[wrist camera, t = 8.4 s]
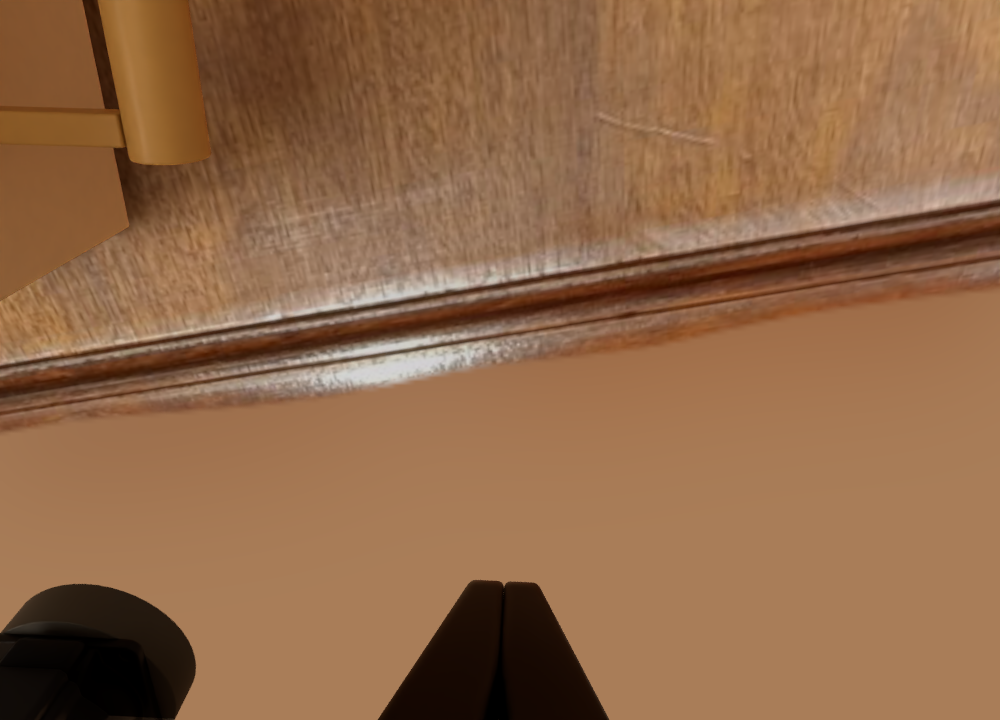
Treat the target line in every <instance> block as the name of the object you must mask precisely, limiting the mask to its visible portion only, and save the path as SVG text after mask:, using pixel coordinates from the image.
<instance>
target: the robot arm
mask: <svg viewBox="0 0 1000 720" xmlns="http://www.w3.org/2000/svg"><path fill="white" fill-rule="evenodd" d="M503 598H504V599H503ZM0 720H162V716H161V713H160V709H159V705H158V701H157V698H156V694H155V690H154V687H153V683H152V679H151V676H150V672H149V668H148V665H147V661H146V657H145V654H144V650H143V648H142V646H141V645H140V644H139V643H138V642H136V641H134V640H129V639H110V638H90V637H69V636H49V635H28V634H8V633H0ZM378 720H609V718H608V716H607V715H606V713H605V711H604V709H603V707H602V705H601V703H600V701H599V699H598V697H597V696H596V694H595V692H594V690H593V688H592V686H591V684H590V682H589V680H588V679H587V676H586V675H585V673H584V671H583V669H582V667H581V665H580V663H579V661H578V659H577V657H576V655H575V654H574V652H573V650H572V648H571V646H570V644H569V642H568V640H567V638H566V636H565V634H564V633H563V631H562V629H561V627H560V625H559V623H558V621H557V619H556V617H555V615H554V614H553V612H552V610H551V608H550V606H549V604H548V602H547V600H546V598H545V596H544V594H543V592H542V591H541V589H540V587H539V586H538V585H537V584H535V583H529V582H528V583H527V582H508V583H506V585H505V586H503V584H502V583H501V582H499V581H486V580H485V581H484V580H473V581H471V582H470V583H469V584H468V585H467V587H466V588H465V590H464V591H463V593H462V594H461V596H460V597H459V599H458V600H457V602H456V603H455V605H454V606H453V608H452V609H451V611H450V612H449V614H448V615H447V617H446V618H445V620H444V621H443V623H442V624H441V626H440V627H439V629H438V630H437V632H436V633H435V635H434V636H433V638H432V639H431V641H430V642H429V644H428V645H427V647H426V648H425V650H424V651H423V653H422V654H421V656H420V657H419V659H418V660H417V662H416V663H415V665H414V666H413V668H412V669H411V671H410V672H409V674H408V675H407V677H406V678H405V680H404V681H403V683H402V684H401V686H400V687H399V689H398V690H397V692H396V693H395V695H394V696H393V698H392V699H391V701H390V702H389V704H388V705H387V707H386V708H385V710H384V711H383V713H382V714H381V716H380V717H379V719H378Z"/></svg>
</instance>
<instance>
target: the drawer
mask: <svg viewBox="0 0 1000 720" xmlns="http://www.w3.org/2000/svg"><path fill="white" fill-rule="evenodd" d="M98 5H99V10H100V15H101V20H102V25H103V30H104V35H105V40H106V45H107V50H108V55H109V60H110V65H111V70H112V75H113V80H114V85H115V90H116V95H117V100H118V105H119V109H105V106H104V102H103V97H102V92H101V87H100V82H99V78H98V73H97V68H96V63H95V58H94V54H93V49H92V44H91V39H90V35H89V30H88V25H87V20H86V15H85V11H84V6H83V1H82V0H0V301H1V300H3V299H5V298H6V297H8V296H10V295H11V294H13V293H15V292H17V291H18V290H20V289H22V288H24V287H25V286H27V285H29V284H31V283H32V282H34V281H36V280H37V279H39V278H41V277H43V276H44V275H46V274H48V273H50V272H51V271H53V270H55V269H57V268H58V267H60V266H62V265H64V264H65V263H67V262H69V261H70V260H72V259H74V258H76V257H77V256H79V255H81V254H83V253H84V252H86V251H88V250H90V249H91V248H93V247H95V246H96V245H98V244H100V243H102V242H103V241H105V240H107V239H109V238H110V237H112V236H114V235H116V234H117V233H119V232H121V231H122V230H124V229H126V228H128V227H129V221H128V217H127V212H126V207H125V202H124V198H123V193H122V188H121V183H120V178H119V174H118V169H117V164H116V159H115V154H114V150H113V148H124V147H126V146H127V150H128V155H129V158H130V160H131V161H132V162H135V163H139V164H145V165H178V164H187V163H193V162H198V161H202V160H205V159H207V158H209V157H210V155H211V149H210V142H209V136H208V129H207V123H206V116H205V109H204V103H203V96H202V89H201V83H200V76H199V70H198V63H197V56H196V50H195V43H194V36H193V30H192V23H191V17H190V10H189V3H188V0H98Z"/></svg>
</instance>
